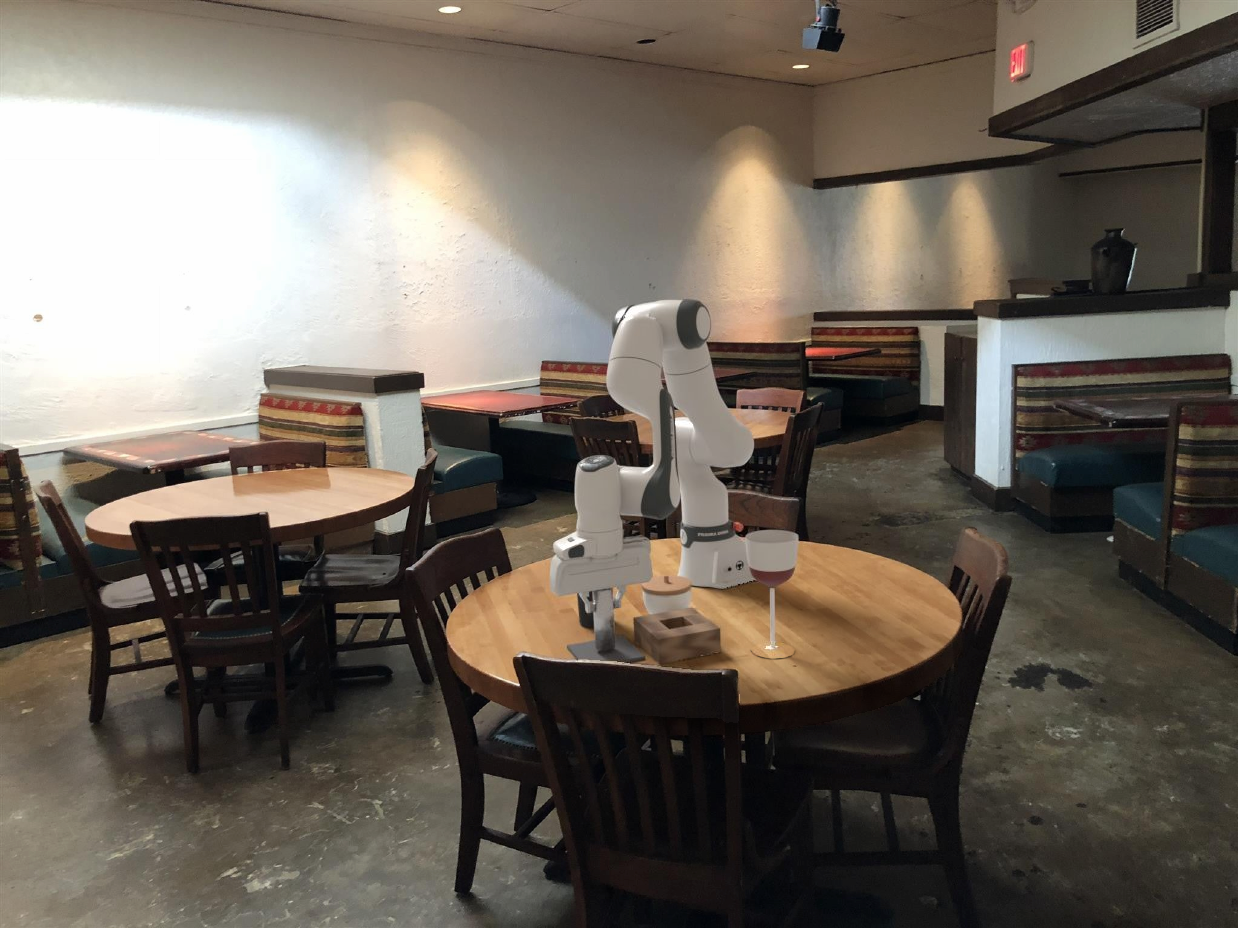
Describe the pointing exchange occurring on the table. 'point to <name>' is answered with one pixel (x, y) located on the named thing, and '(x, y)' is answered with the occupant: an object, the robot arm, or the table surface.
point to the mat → (607, 651)
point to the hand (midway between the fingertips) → (603, 609)
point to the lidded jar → (666, 593)
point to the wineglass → (772, 563)
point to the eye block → (676, 635)
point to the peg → (604, 619)
